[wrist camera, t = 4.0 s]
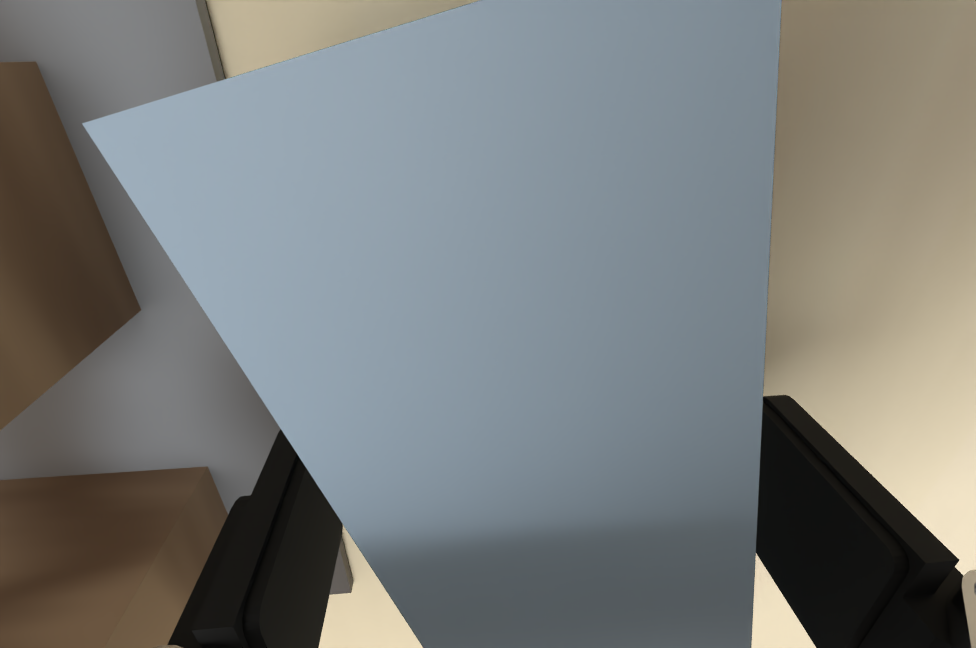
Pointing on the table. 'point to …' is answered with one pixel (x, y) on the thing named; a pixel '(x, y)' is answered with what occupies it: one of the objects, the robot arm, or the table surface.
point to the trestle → (106, 344)
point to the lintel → (502, 301)
